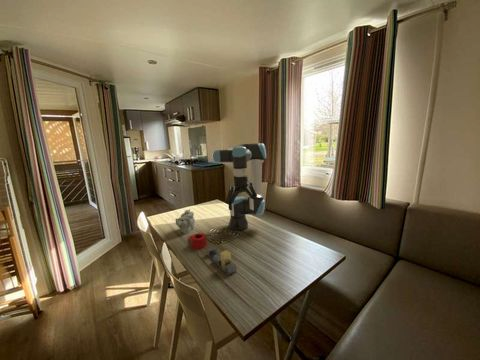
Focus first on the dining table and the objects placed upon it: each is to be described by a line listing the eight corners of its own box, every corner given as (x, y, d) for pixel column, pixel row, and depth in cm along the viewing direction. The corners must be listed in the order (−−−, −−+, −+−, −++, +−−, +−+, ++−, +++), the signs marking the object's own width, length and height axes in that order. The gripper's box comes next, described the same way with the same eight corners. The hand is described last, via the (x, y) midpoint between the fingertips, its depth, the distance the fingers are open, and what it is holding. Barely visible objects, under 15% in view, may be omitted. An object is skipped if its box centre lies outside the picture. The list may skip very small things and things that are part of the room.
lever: (209, 246, 131) (208, 236, 130) (195, 251, 126) (195, 241, 124) (197, 236, 145) (196, 227, 144) (184, 240, 140) (183, 231, 139)
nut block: (221, 266, 108) (220, 252, 107) (227, 263, 110) (226, 250, 109) (225, 270, 105) (224, 255, 103) (231, 267, 107) (230, 253, 106)
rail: (206, 254, 121) (206, 249, 120) (214, 252, 124) (214, 246, 123) (228, 275, 101) (227, 268, 101) (236, 271, 104) (236, 265, 104)
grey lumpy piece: (177, 238, 143) (175, 215, 140) (174, 231, 155) (172, 210, 152) (198, 233, 150) (196, 211, 146) (193, 227, 162) (192, 206, 158)
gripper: (224, 180, 101) (226, 220, 106) (262, 173, 115) (263, 208, 119) (217, 178, 107) (219, 215, 112) (254, 171, 121) (255, 205, 125)
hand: (242, 212), depth 115 cm, fingers open, 13 cm apart
